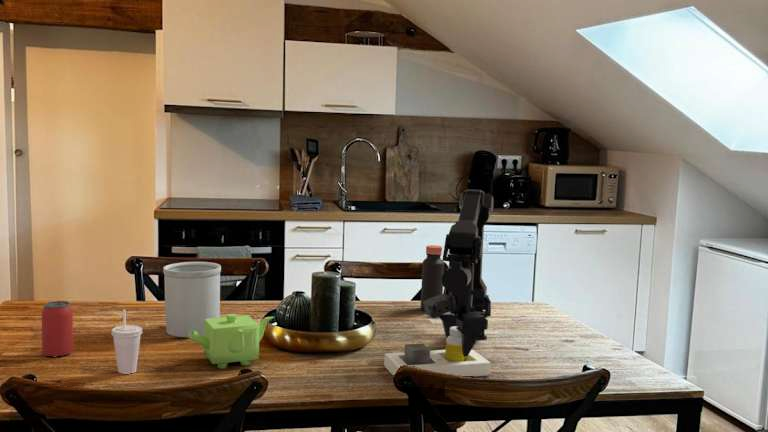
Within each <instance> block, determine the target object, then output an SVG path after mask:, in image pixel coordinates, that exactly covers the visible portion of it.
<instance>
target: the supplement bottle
mask: <svg viewBox="0 0 768 432" xmlns="http://www.w3.org/2000/svg"><path fill="white" fill-rule="evenodd" d="M456 327H457V326H453V327H450V336H448V337H447V339H446V338H445V349H444V350H445V360H447V361H448V362H463V361H468V356H463V351H462V338H461V333H460V332H459V331H458V330H457V329H456Z"/></svg>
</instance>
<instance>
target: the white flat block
mask: <svg viewBox="0 0 768 432" xmlns="http://www.w3.org/2000/svg"><path fill="white" fill-rule="evenodd" d="M445 350H446V349H437V350H434V349H433V350H430V363H429V364H419V365H408V366H415V367H418V368H421V369H425V370H430V371H435V372H441V373H446V374H454V375H462V376H474V377H485V376H490V375H491V365H492V363H491V361H489V360H488V359H487V358H485V357H484V356H482V355H481V354H480V353H479V352H477V351H475V350H474V349H473V348H472V349H471V351H470V353H469V355H468V361H463V362H448V361H447V360H445ZM404 355H405V351H404V352H388V353H386V352H385V353H384V362H383V365H384V367H385V368H386V370H388V372H389V374H391V375H392V376H393V375H394V374H395V373H396V371H397V370H398V368H399V367H400V366H403V365H407V364H406V363H405V362H404Z"/></svg>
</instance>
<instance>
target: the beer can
mask: <svg viewBox="0 0 768 432" xmlns="http://www.w3.org/2000/svg"><path fill="white" fill-rule="evenodd" d="M73 316H74V315H73V308H72V307H71V303H70V302H69V301H64V300H55V301H49V302H46V303H44V304H43V308H42V310H41V353H42V355H43V356H45V355H46V356H45V357H47V356H62V357H65V356H64V355H66V356H68V355H67V354H69V355H70V354H72V353H73V351H74V333H73V332H74V326H73V325H74V322H73V320H74V319H73ZM71 352H72V353H71Z"/></svg>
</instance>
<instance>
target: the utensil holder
mask: <svg viewBox="0 0 768 432" xmlns="http://www.w3.org/2000/svg"><path fill="white" fill-rule="evenodd" d="M162 268H163V269H162V270H163V271H162V272H163V274H164V278H163V279H164V309H165V311H164V312H165V328H166V333H167V335H170V336H172V337H177V338H189V335H190V333H191V332H192V331H196V332H197V333H199V334H201V335H202V336H204V319H209V318H220V317H221V271H222V266H221V264H219V263H216V262H210V261H209V262H208V261H184V262H182V261H181V262H176V263H170V264H167V265H164V266H163V267H162Z"/></svg>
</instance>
